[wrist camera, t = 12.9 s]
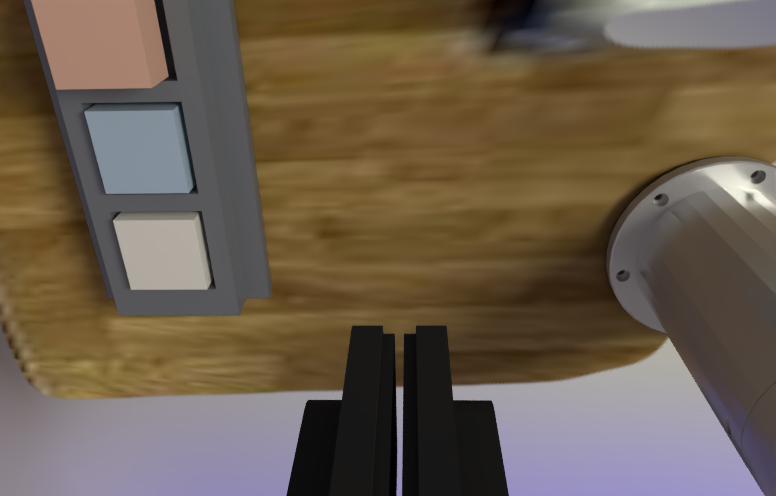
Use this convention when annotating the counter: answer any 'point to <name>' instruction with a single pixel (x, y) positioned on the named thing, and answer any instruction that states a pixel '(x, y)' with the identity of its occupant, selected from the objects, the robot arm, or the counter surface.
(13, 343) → the counter surface
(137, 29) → the key
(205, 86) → the keypad housing
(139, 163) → the key
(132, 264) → the key
